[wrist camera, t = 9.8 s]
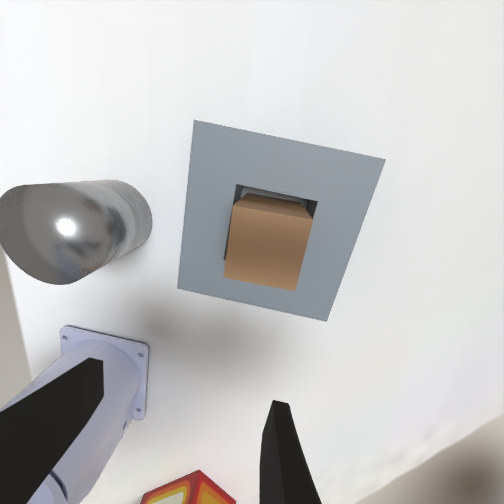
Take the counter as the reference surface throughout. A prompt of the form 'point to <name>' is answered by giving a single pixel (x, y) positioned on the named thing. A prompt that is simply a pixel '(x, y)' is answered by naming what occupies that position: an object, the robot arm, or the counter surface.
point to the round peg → (71, 227)
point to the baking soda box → (189, 492)
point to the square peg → (267, 241)
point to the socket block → (280, 181)
